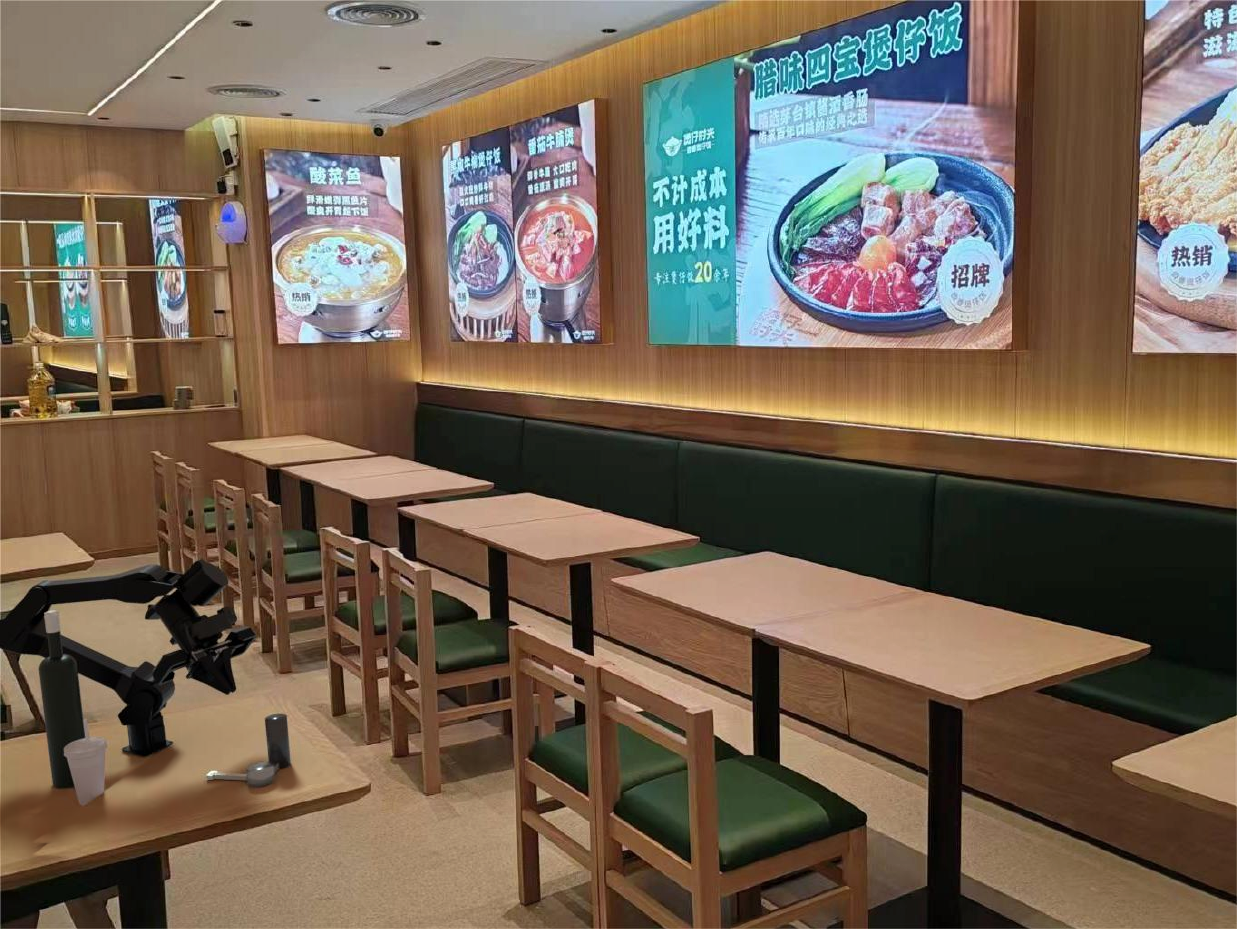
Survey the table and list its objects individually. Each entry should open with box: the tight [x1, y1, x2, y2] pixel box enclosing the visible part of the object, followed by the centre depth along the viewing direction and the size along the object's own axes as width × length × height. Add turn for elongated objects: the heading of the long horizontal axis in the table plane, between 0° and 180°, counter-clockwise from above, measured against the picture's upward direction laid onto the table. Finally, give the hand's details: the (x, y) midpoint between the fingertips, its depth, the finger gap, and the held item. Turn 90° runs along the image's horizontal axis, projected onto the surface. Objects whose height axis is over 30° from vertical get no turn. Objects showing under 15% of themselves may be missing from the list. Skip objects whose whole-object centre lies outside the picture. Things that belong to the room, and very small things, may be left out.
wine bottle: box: [38, 610, 85, 789], centre depth 187 cm, size 6×6×30 cm
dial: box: [205, 713, 292, 788], centre depth 187 cm, size 10×12×8 cm
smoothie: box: [64, 718, 108, 807], centre depth 181 cm, size 6×6×14 cm
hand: (231, 692), depth 193 cm, fingers closed
